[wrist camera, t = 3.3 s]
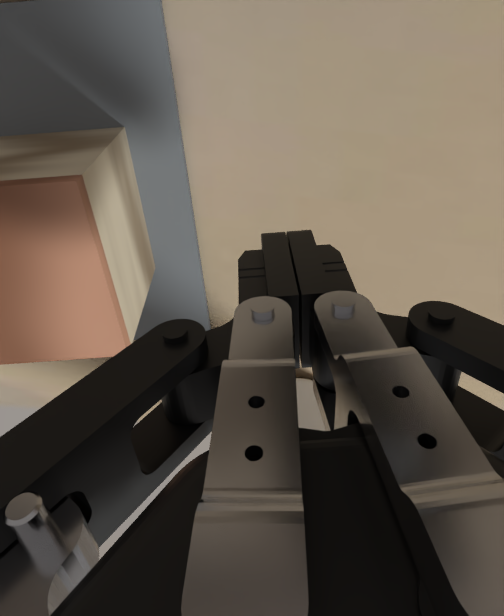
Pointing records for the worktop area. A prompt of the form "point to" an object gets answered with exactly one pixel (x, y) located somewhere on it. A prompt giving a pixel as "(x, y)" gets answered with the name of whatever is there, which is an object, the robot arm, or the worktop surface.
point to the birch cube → (70, 246)
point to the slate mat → (111, 118)
